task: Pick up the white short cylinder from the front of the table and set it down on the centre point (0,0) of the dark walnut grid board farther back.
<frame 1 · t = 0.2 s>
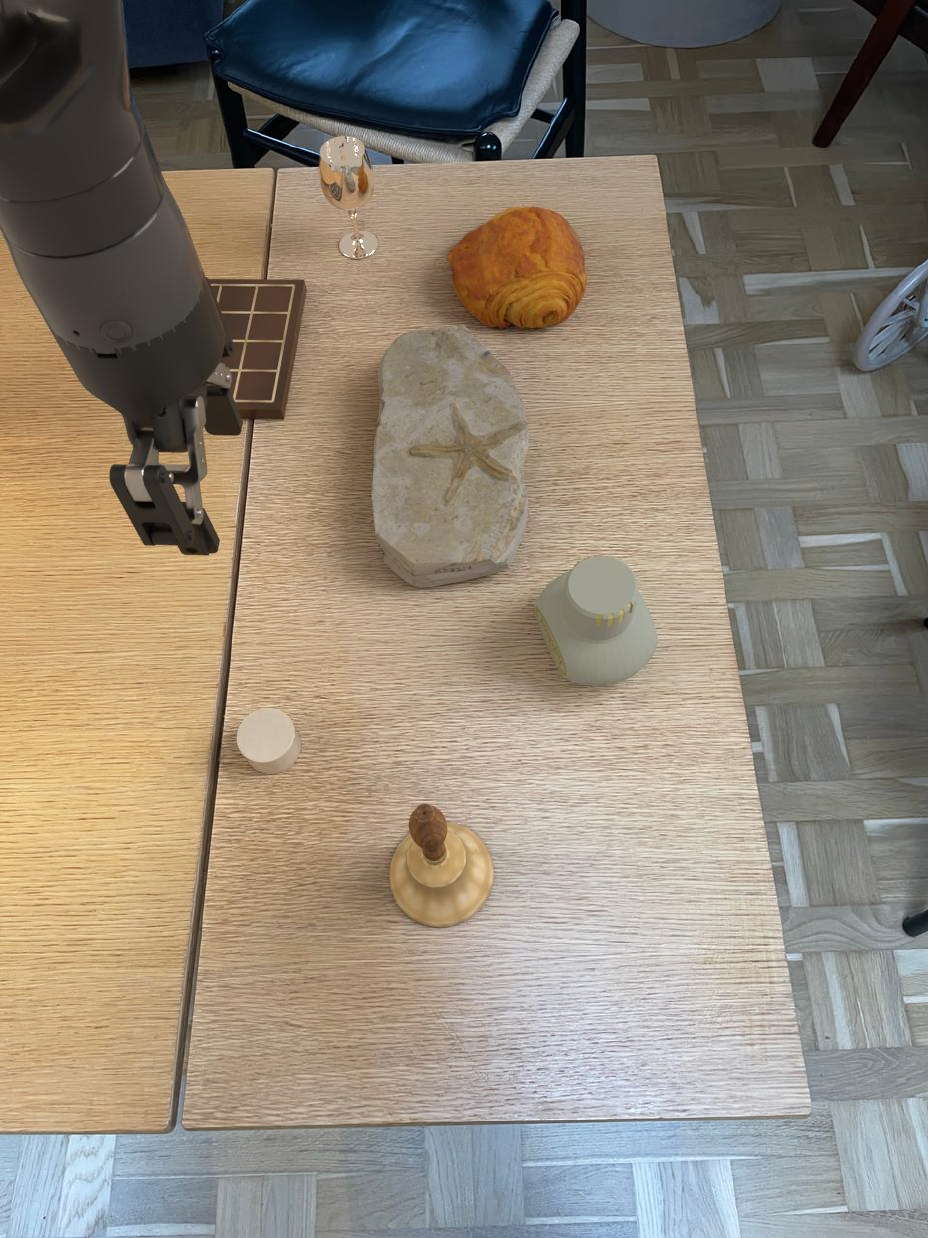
hand: (214, 488, 59), 30 cm above the table, tool pointing down, fingers open, 8 cm apart
hand bell: (441, 874, 78), on the table
wineglass: (358, 246, 111), on the table
white short cylinder: (273, 747, 83), on the table
fossil stone: (448, 463, 96), on the table
air freshener: (592, 641, 87), on the table
croissant: (516, 286, 107), on the table
grid board: (212, 351, 104), on the table
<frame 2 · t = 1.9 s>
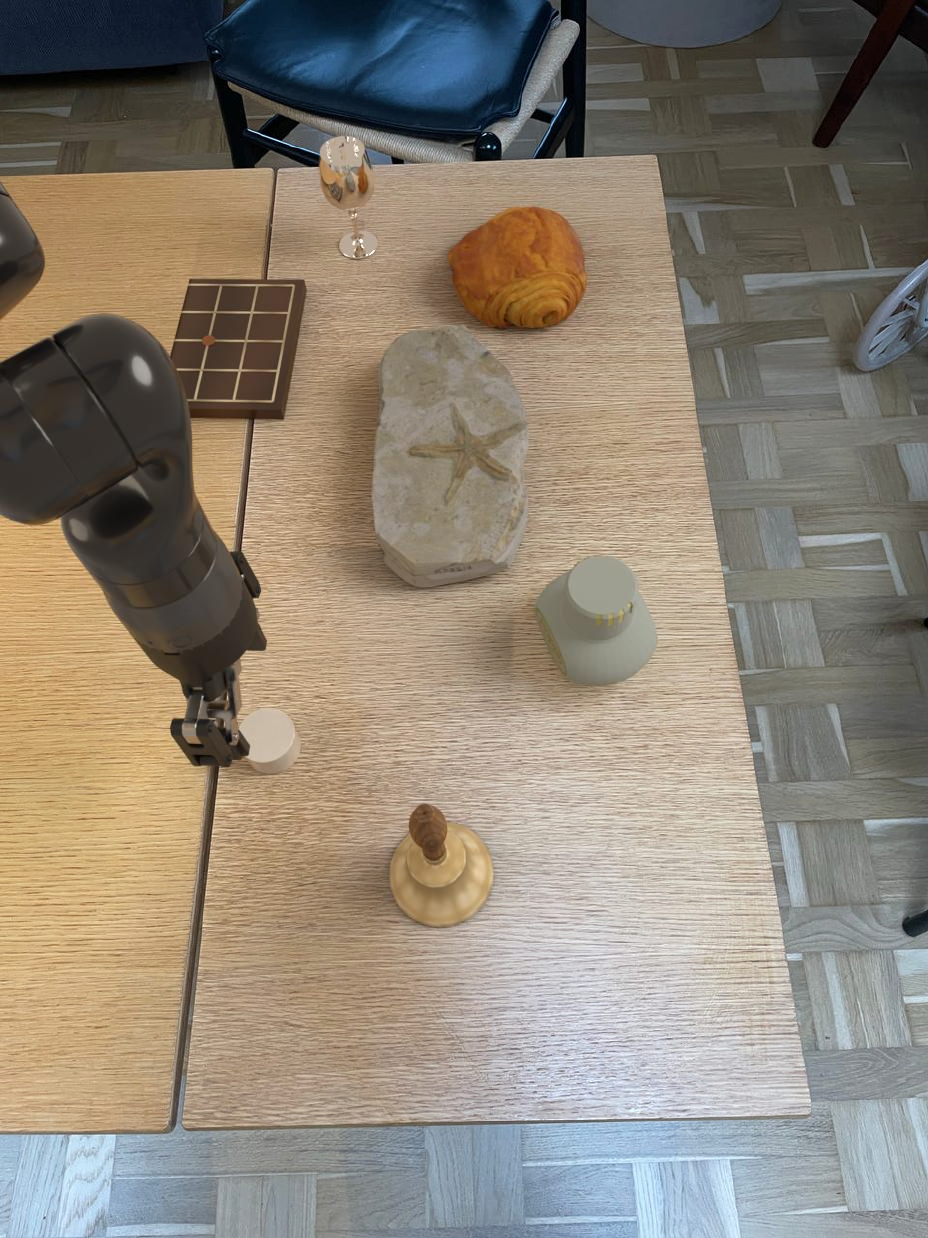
hand: (245, 698, 74), 11 cm above the table, tool pointing down, fingers open, 8 cm apart
nothing on the table moved.
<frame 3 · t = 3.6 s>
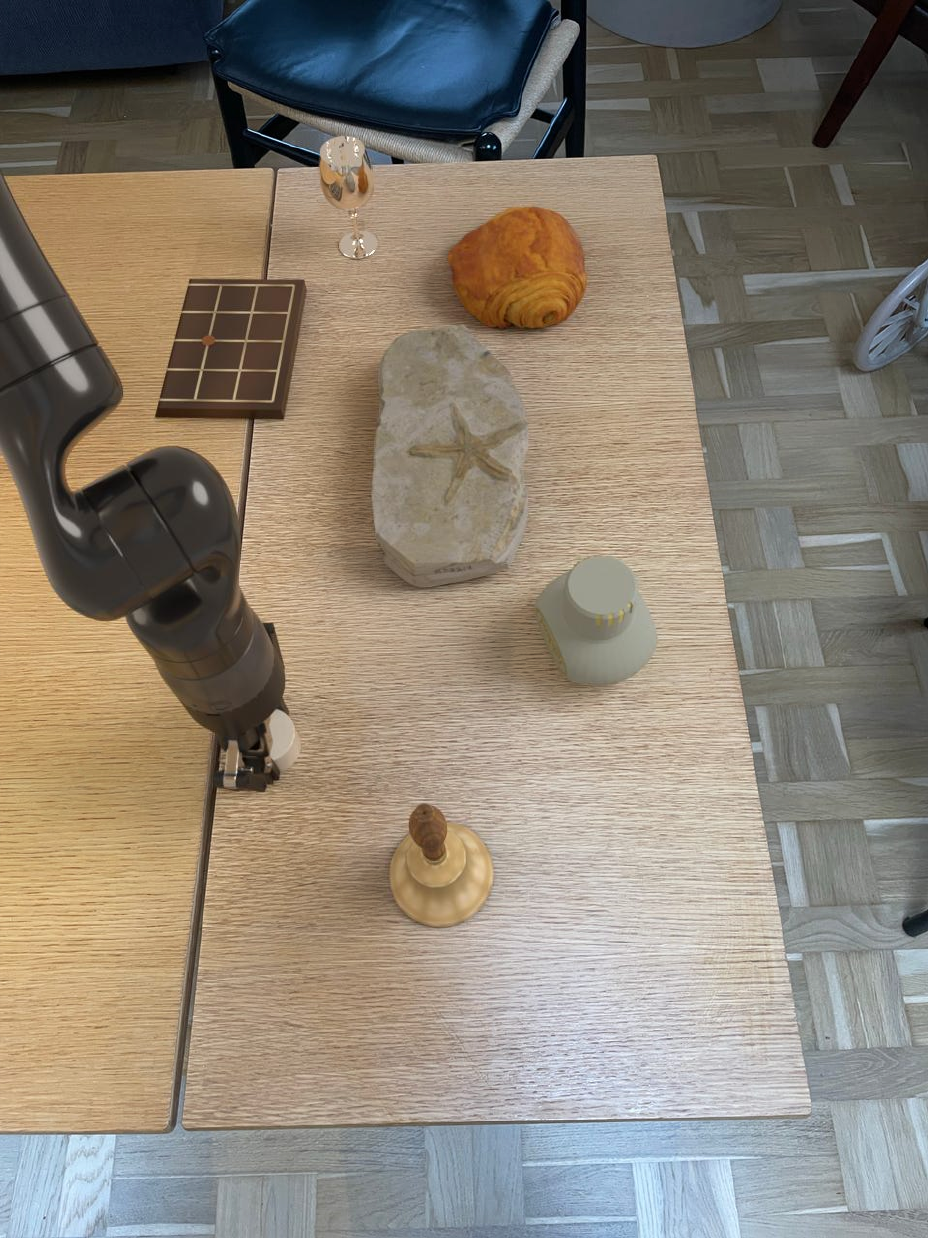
hand: (272, 745, 83), 0 cm above the table, tool pointing down, fingers closed on white short cylinder, 4 cm apart
white short cylinder: (273, 747, 83), on the table, touching gripper
everything else where it was.
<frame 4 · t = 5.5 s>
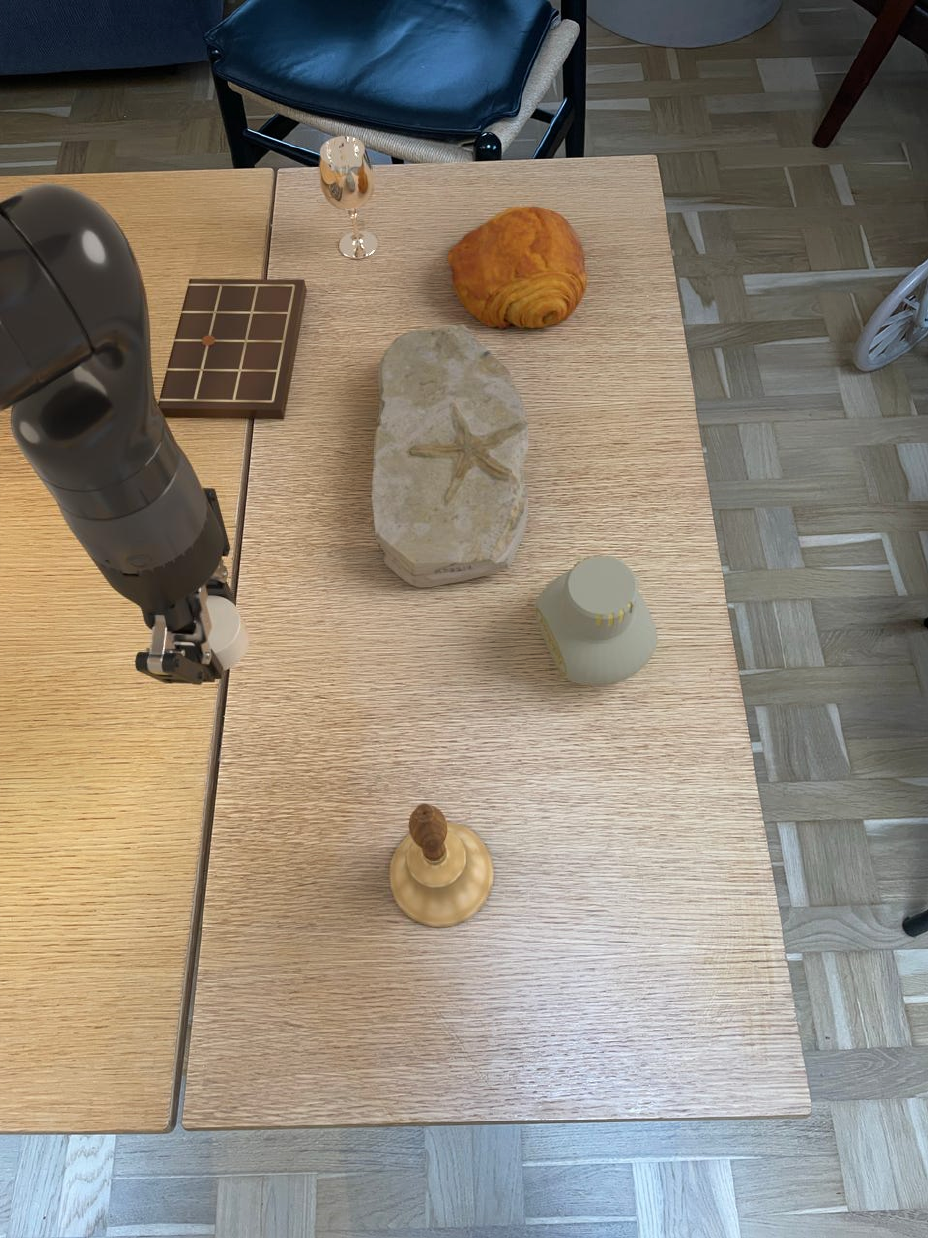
hand: (215, 640, 72), 15 cm above the table, tool pointing down, fingers closed on white short cylinder, 4 cm apart
white short cylinder: (217, 642, 72), point 14 cm above the table, touching gripper
everything else where it was.
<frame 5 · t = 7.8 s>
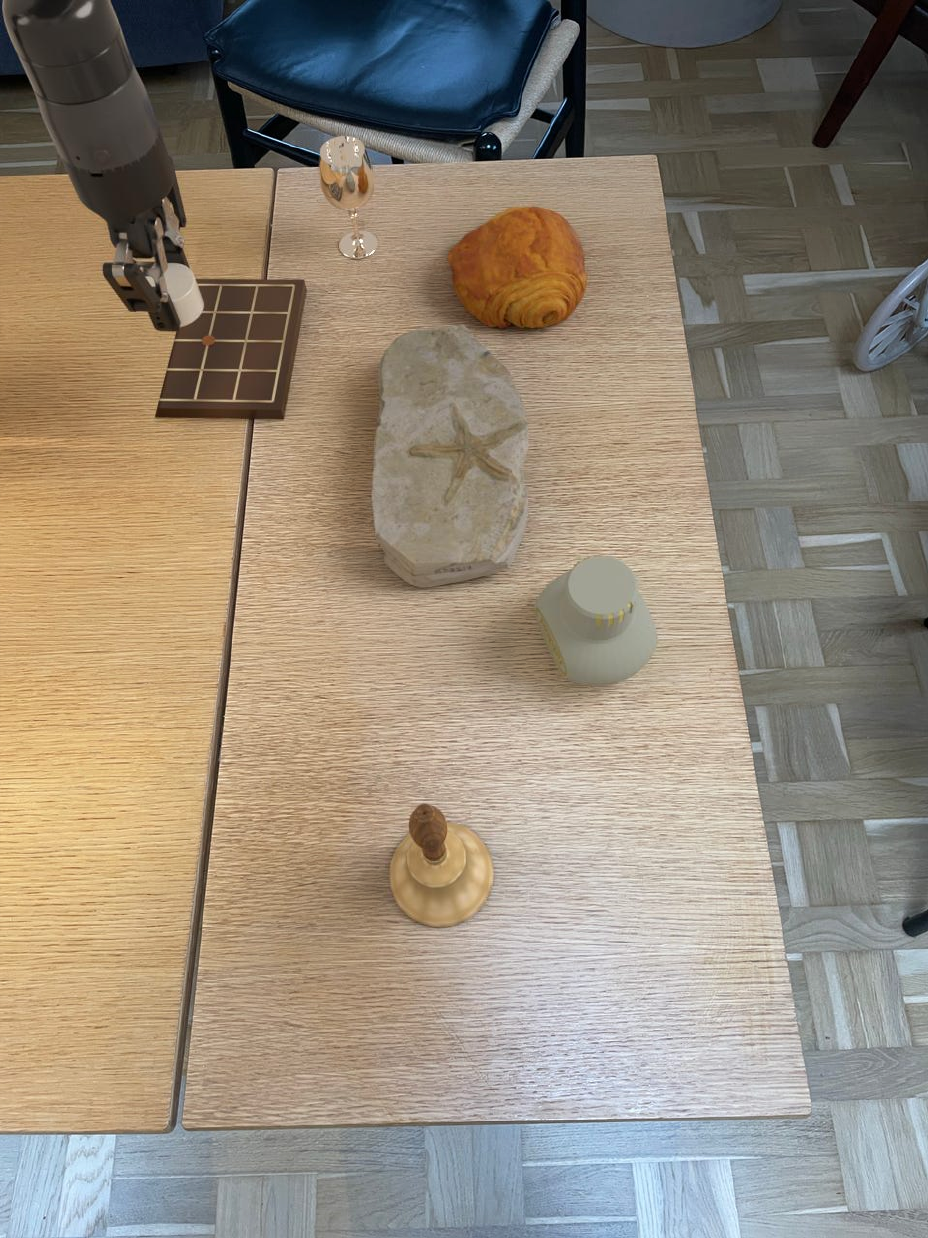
hand: (175, 304, 87), 15 cm above the table, tool pointing down, fingers closed on white short cylinder, 4 cm apart
white short cylinder: (177, 308, 87), point 15 cm above the table, touching gripper
everything else where it was.
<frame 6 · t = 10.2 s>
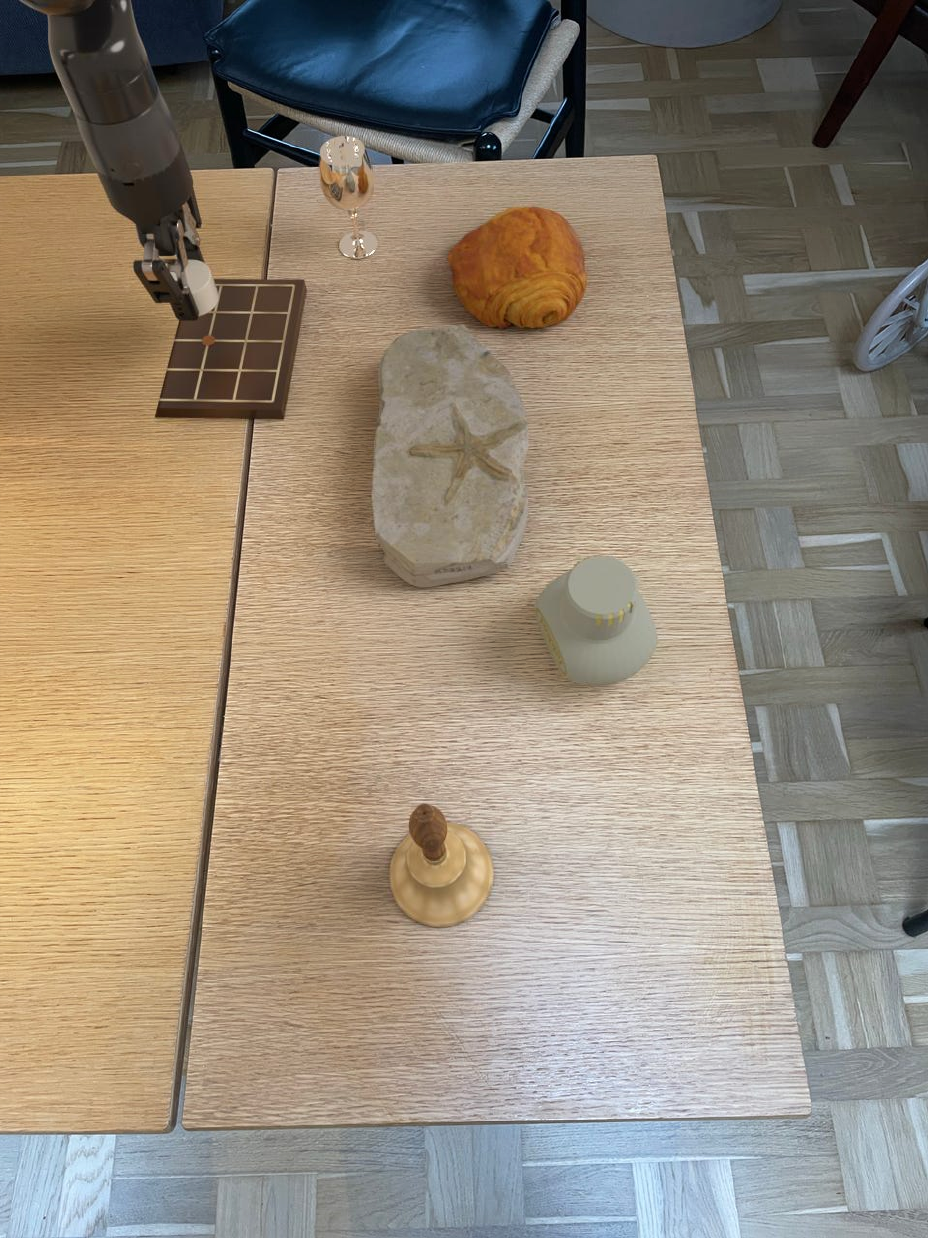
hand: (193, 297, 98), 7 cm above the table, tool pointing down, fingers closed on white short cylinder, 4 cm apart
white short cylinder: (195, 299, 98), point 7 cm above the table, touching gripper
everything else where it was.
when the fingers open (2 cm above the table, at t = 12.0 s): white short cylinder stays where it is, resting on grid board.
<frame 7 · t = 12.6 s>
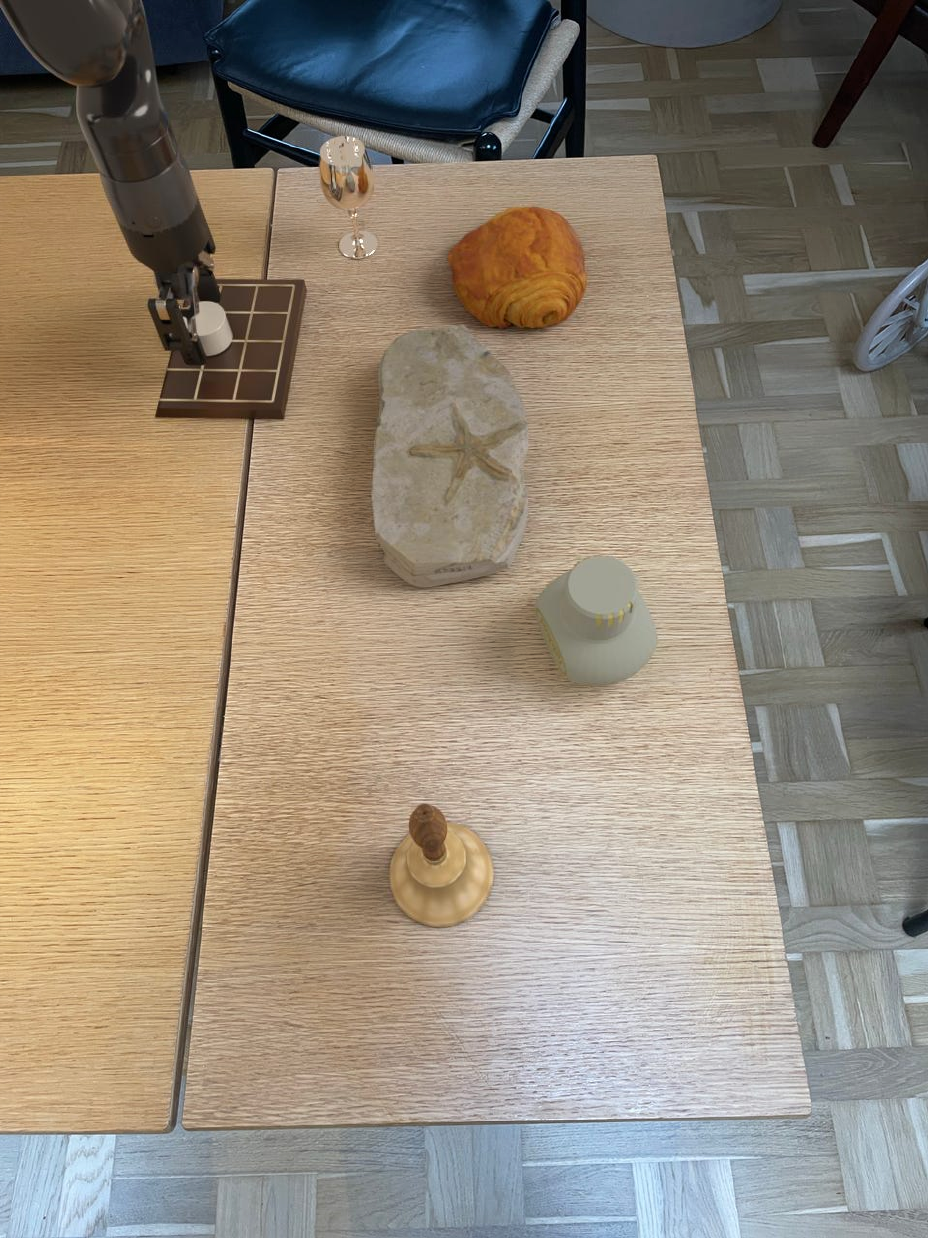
hand: (204, 331, 102), 3 cm above the table, tool pointing down, fingers open, 8 cm apart
white short cylinder: (209, 338, 103), point 2 cm above the table, touching grid board
everything else where it was.
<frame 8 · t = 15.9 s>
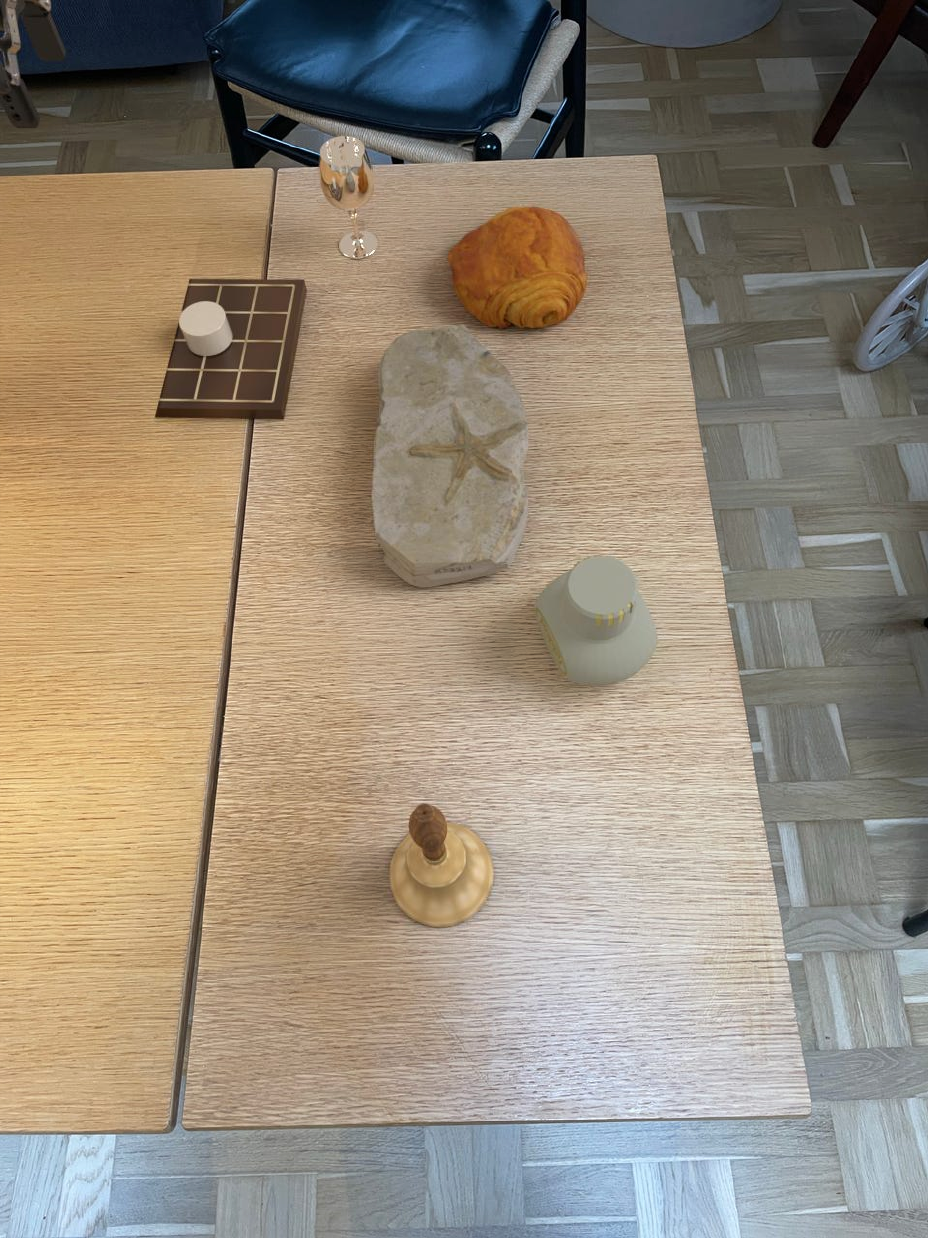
hand: (41, 91, 81), 28 cm above the table, tool pointing down, fingers open, 8 cm apart
nothing on the table moved.
at the end: white short cylinder 0.2 cm off-centre on the grid board, point 1.6 cm above the grid board's base; white short cylinder tilted 0°; the gripper is holding nothing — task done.
